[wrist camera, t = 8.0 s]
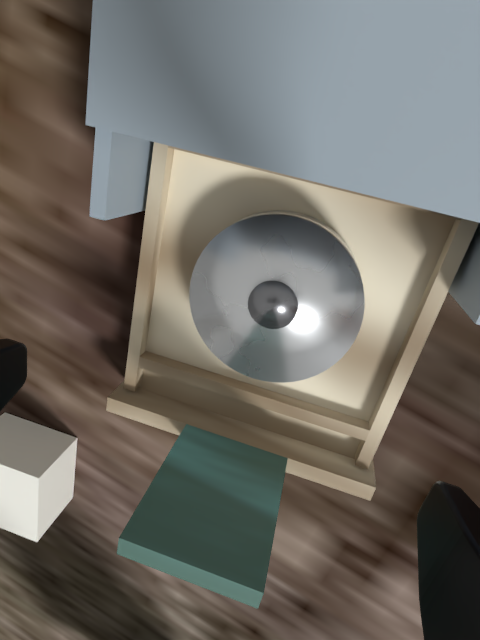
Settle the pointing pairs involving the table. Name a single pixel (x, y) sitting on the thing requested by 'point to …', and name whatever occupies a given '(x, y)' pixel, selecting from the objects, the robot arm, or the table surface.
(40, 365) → the table surface
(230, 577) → the tray
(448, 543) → the robot arm
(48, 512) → the pedestal
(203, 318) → the disc
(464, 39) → the housing
